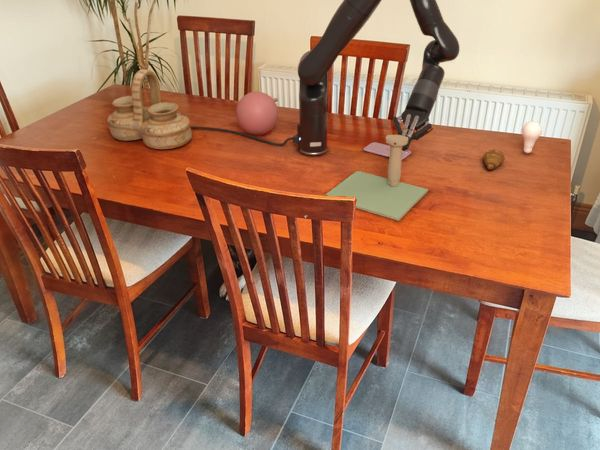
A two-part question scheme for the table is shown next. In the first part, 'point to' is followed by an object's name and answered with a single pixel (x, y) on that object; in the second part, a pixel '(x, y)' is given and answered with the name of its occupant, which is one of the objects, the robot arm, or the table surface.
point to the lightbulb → (530, 135)
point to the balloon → (257, 113)
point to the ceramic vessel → (149, 117)
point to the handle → (395, 157)
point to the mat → (379, 194)
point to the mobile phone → (383, 150)
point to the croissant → (493, 159)
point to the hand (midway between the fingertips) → (402, 149)
